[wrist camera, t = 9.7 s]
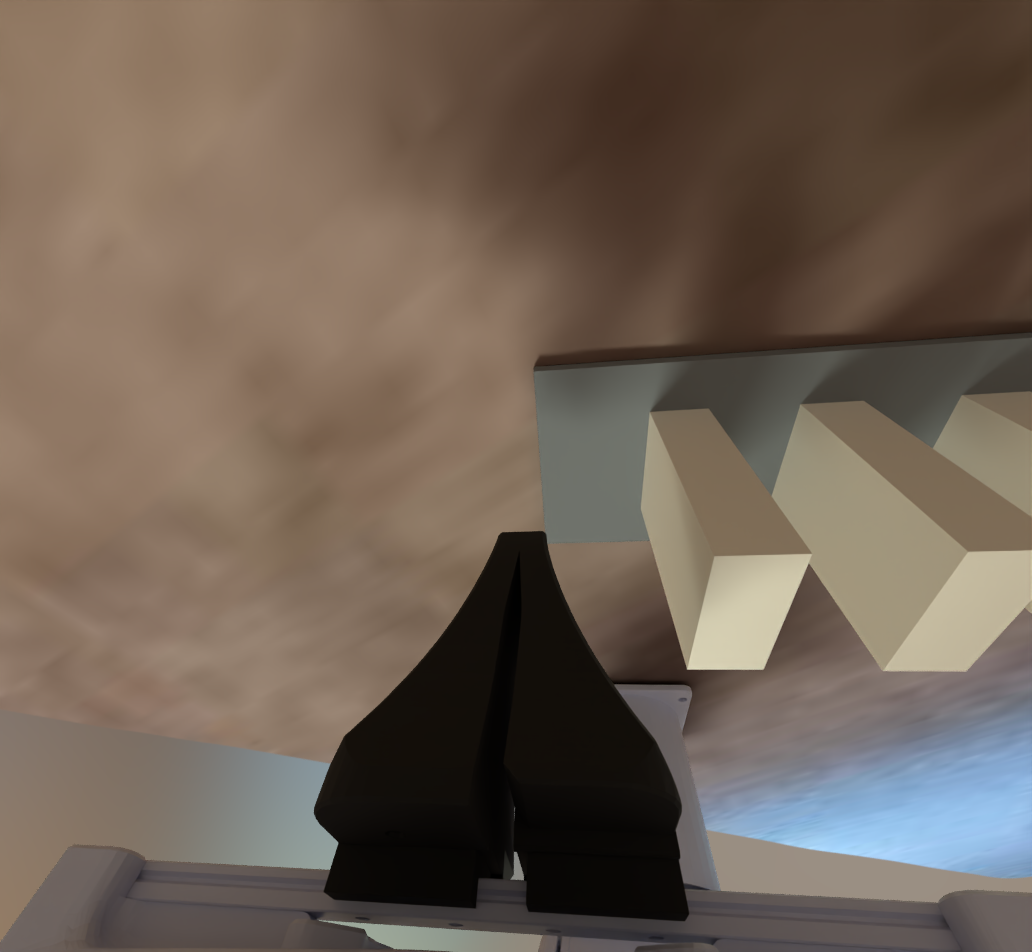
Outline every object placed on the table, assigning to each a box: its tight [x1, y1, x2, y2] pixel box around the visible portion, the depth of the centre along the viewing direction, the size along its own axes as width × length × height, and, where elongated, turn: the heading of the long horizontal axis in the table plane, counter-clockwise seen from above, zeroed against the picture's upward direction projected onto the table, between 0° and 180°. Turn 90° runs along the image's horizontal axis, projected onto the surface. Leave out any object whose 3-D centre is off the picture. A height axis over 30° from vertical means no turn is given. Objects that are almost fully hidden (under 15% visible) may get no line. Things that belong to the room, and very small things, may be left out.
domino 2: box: [772, 401, 1032, 671], centre depth 13 cm, size 4×2×7 cm, turn 5°
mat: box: [534, 332, 1032, 544], centre depth 15 cm, size 8×30×1 cm, turn 95°
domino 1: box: [641, 408, 812, 670], centre depth 13 cm, size 4×2×7 cm, turn 5°
